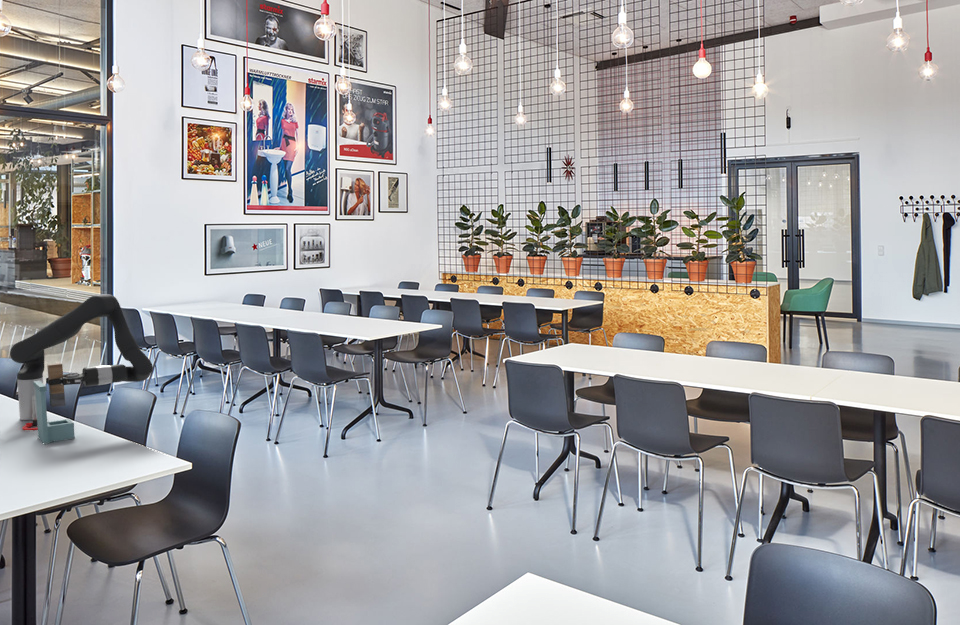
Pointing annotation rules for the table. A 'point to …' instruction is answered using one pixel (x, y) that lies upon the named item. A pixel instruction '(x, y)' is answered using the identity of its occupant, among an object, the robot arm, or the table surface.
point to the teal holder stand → (52, 428)
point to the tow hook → (34, 420)
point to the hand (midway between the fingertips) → (47, 381)
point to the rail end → (56, 390)
